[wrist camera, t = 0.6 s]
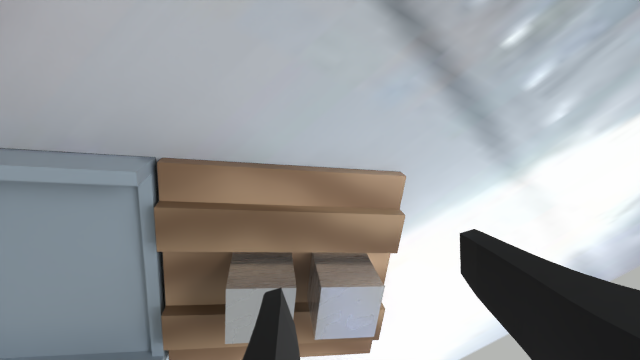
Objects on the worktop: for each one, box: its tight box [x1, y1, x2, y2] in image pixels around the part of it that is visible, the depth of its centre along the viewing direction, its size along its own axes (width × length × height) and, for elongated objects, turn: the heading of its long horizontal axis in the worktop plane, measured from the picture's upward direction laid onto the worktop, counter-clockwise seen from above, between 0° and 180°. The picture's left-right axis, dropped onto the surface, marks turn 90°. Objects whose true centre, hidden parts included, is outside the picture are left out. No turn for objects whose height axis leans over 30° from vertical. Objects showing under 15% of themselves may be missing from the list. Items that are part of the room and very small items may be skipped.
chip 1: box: [225, 252, 296, 344], centre depth 20 cm, size 4×4×4 cm
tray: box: [0, 148, 168, 360], centre depth 19 cm, size 16×14×3 cm
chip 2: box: [307, 253, 385, 340], centre depth 21 cm, size 4×4×4 cm
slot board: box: [154, 158, 406, 360], centre depth 22 cm, size 16×16×2 cm
